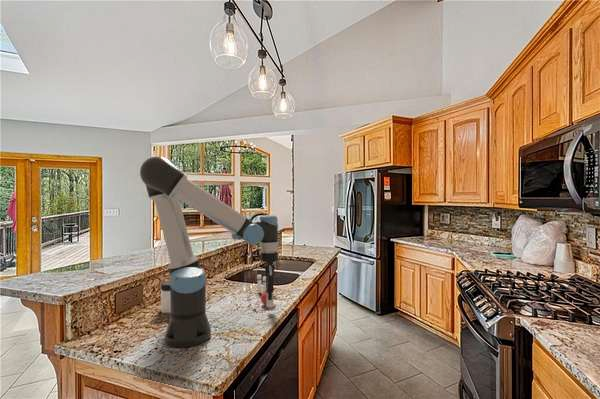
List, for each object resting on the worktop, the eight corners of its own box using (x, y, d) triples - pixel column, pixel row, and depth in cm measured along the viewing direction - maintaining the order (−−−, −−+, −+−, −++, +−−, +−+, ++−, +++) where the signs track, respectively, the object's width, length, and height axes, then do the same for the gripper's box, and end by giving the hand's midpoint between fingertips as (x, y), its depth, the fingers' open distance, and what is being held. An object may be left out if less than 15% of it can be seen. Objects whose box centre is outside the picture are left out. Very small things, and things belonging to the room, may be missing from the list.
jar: (160, 308, 137) (160, 281, 137) (179, 305, 141) (179, 279, 141) (161, 314, 129) (161, 286, 129) (182, 311, 133) (182, 283, 133)
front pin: (267, 295, 155) (267, 277, 155) (263, 295, 155) (262, 277, 155) (266, 294, 157) (266, 276, 157) (262, 294, 157) (262, 276, 157)
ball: (274, 306, 139) (274, 293, 139) (261, 307, 138) (261, 294, 138) (273, 302, 145) (273, 289, 145) (260, 303, 144) (260, 290, 143)
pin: (261, 292, 159) (261, 275, 159) (257, 293, 159) (257, 275, 159) (261, 291, 161) (261, 274, 161) (257, 292, 161) (257, 274, 161)
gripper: (279, 253, 126) (280, 311, 126) (276, 248, 139) (276, 300, 139) (261, 254, 125) (262, 312, 125) (259, 249, 137) (260, 302, 138)
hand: (269, 306), depth 132 cm, fingers closed
